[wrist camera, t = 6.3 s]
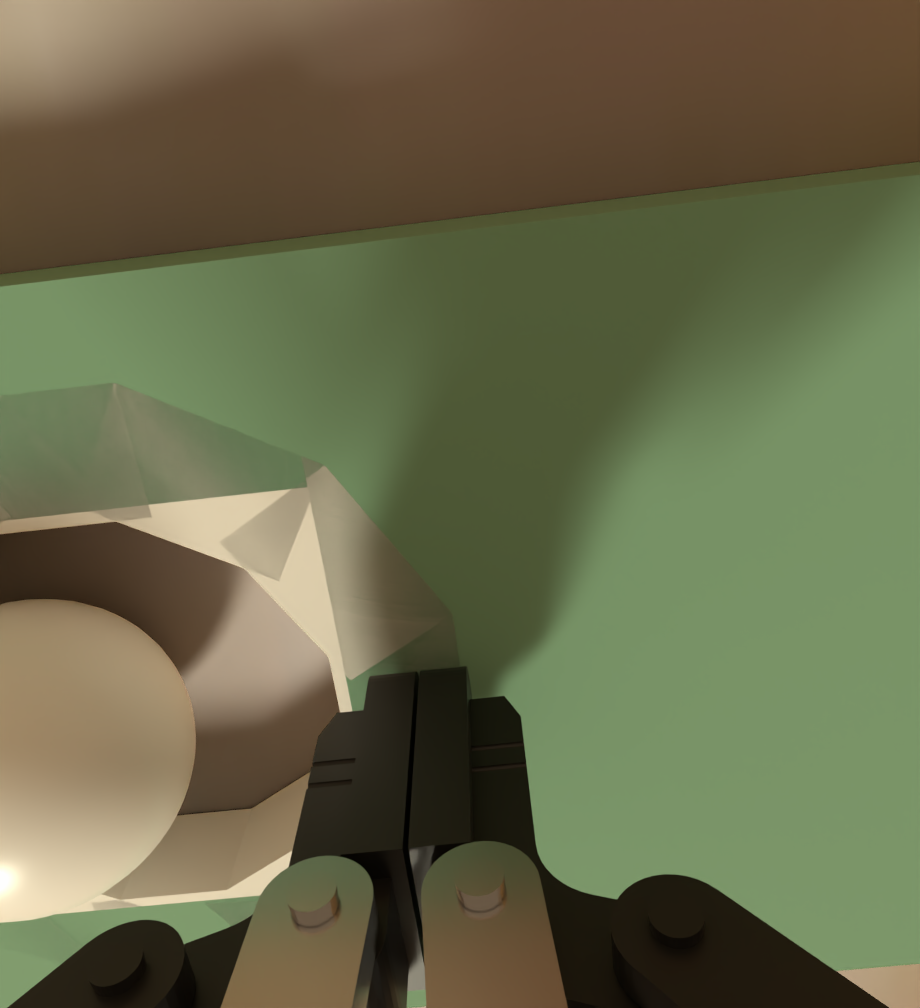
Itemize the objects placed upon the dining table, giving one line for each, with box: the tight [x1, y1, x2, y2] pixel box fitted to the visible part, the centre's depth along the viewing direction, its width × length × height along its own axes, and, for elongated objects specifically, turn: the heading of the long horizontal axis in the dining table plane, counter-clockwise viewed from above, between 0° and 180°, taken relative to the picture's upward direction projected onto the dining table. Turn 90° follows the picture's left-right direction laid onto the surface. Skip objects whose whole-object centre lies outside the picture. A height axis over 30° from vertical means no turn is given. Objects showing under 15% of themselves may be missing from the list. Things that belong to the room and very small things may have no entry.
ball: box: [0, 599, 196, 923], centre depth 13 cm, size 5×5×5 cm
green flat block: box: [0, 162, 920, 1008], centre depth 14 cm, size 21×14×2 cm
